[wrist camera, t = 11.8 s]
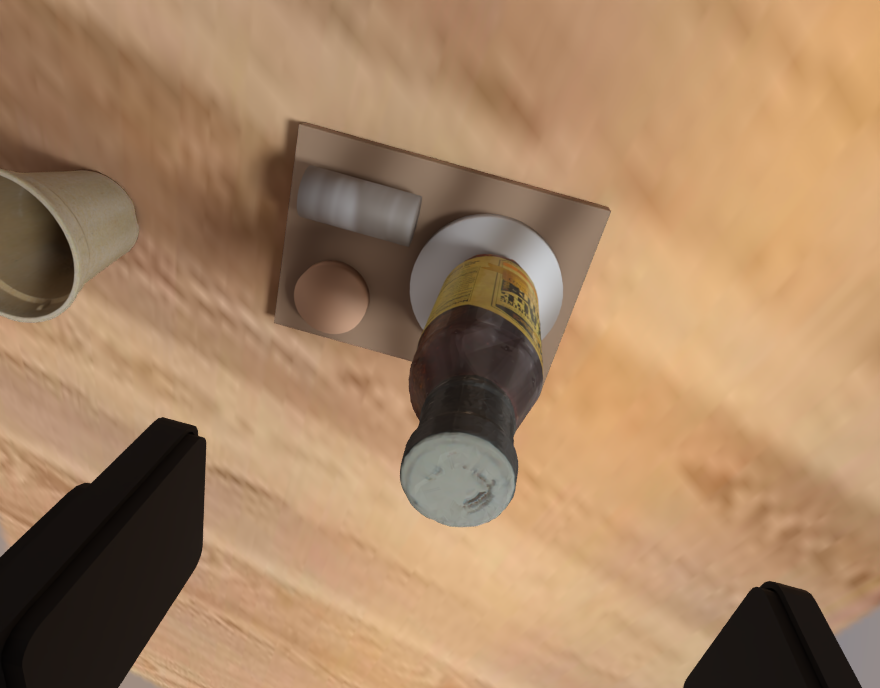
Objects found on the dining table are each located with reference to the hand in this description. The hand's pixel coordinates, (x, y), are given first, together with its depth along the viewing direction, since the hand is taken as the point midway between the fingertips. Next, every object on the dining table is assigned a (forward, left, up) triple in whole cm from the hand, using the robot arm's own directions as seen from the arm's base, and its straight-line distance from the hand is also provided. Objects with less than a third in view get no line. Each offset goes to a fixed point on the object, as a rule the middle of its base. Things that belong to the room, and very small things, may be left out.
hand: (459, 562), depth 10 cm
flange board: (+3, +6, -30) cm, 31 cm away
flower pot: (+27, +9, -31) cm, 42 cm away
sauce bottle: (-1, +6, -28) cm, 29 cm away
